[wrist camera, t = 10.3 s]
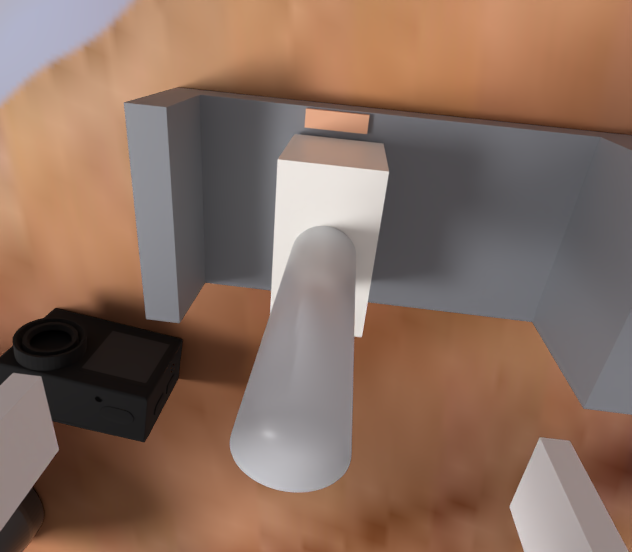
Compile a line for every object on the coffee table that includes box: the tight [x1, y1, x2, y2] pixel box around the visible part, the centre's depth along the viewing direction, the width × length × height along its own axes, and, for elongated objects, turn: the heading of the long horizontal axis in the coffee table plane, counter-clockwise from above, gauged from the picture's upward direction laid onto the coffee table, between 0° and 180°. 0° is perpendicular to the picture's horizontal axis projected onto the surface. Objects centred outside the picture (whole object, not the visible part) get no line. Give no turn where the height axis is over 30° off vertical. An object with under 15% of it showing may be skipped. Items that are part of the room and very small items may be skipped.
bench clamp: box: [124, 87, 632, 415], centre depth 25 cm, size 28×12×10 cm, turn 85°
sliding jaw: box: [230, 134, 389, 492], centre depth 20 cm, size 5×9×18 cm, turn 175°
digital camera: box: [0, 308, 183, 442], centre depth 34 cm, size 10×5×7 cm, turn 77°
